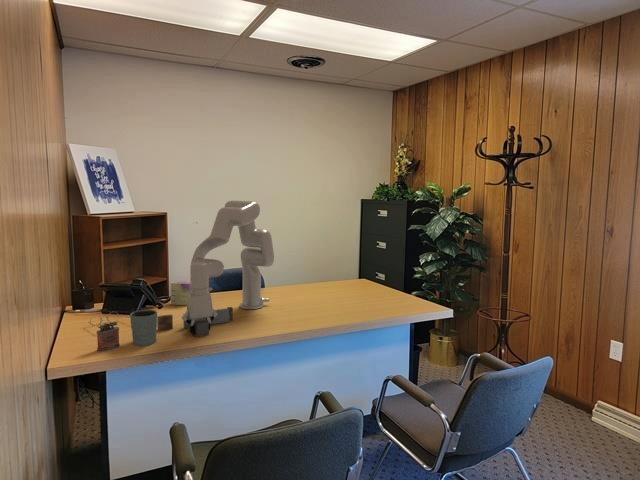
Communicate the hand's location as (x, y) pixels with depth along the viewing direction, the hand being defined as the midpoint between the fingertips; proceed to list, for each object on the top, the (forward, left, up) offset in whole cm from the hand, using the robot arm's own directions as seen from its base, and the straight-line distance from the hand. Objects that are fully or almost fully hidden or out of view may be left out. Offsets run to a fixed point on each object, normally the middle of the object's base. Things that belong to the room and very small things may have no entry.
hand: (200, 332), depth 181 cm
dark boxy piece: (0, -2, -1) cm, 2 cm away
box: (-5, -52, -1) cm, 52 cm away
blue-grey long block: (-6, -12, 0) cm, 13 cm away
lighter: (+35, 0, -1) cm, 35 cm away
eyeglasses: (+31, -26, -1) cm, 40 cm away
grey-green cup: (+22, -1, -1) cm, 22 cm away
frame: (-2, -13, -1) cm, 14 cm away
